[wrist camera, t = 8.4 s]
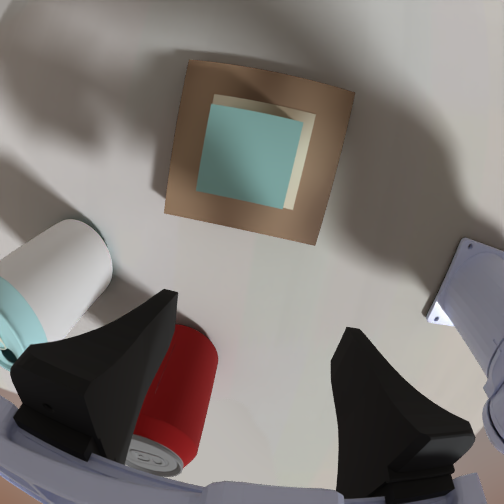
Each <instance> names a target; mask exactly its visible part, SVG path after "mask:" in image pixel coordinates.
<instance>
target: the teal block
mask: <svg viewBox="0 0 504 504" xmlns="http://www.w3.org/2000/svg"><path fill="white" fill-rule="evenodd" d="M303 123H304V122H300V121H296V120H292V119H288V118H283V117H279V116H274V115H270V114H265V113H260V112H255V111H250V110H245V109H239V108H234V107H228V106H222V105H215V104H211V108H210V113H209V118H208V123H207V129H206V134H205V139H204V145H203V150H202V156H201V162H200V168H199V174H198V180H197V186H196V191H199V192H204V193H209V194H214V195H219V196H224V197H228V198H233V199H238V200H243V201H247V202H252V203H256V204H261V205H265V206H270V207H274V208H279V209H283V206H284V202H285V198H286V194H287V189H288V185H289V181H290V177H291V173H292V169H293V165H294V161H295V156H296V152H297V148H298V144H299V140H300V135H301V131H302V127H303Z"/></svg>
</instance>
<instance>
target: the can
mask: <svg viewBox="0 0 504 504" xmlns="http://www.w3.org/2000/svg"><path fill="white" fill-rule="evenodd" d="M112 271H113V268H112V260H111V256H110V253H109V250H108V248H107V246H106V244H105V243H104V241H103V239H102V238H101V237H100V235H99V234H98V233H97V232H96V231H95V230H94V229H93V228H91V227H90V226H89V225H87V224H85V223H83V222H81V221H78V220H74V219H67V220H63V221H61V222H59V223H57V224H55V225H54V226H52V227H50V228H49V229H47V230H46V231H44V232H42V233H41V234H39V235H38V236H36V237H34V238H33V239H31V240H30V241H28V242H27V243H25V244H24V245H22V246H21V247H19V248H18V249H16V250H15V251H13V252H12V253H10V254H9V255H7V256H6V257H4V258H3V259H1V260H0V366H1V367H3V368H4V369H6V370H8V371H10V369H11V367H12V365H13V364H14V363H15V362H16V360H17V359H18V358H19V357H20V356H21V354H22V353H23V352H24V351H25V350H26V349H27V348H28V346H29V345H30V344H39V343H46V342H53V341H58V340H63V339H64V338H65V336H66V335H67V334H68V333H69V332H70V330H71V329H72V328H73V327H74V325H75V324H76V323H77V322H78V321H79V319H80V318H81V317H82V316H83V315H84V313H85V312H86V311H87V310H88V309H89V308H90V306H91V305H92V304H93V303H94V302H95V301H96V299H97V298H98V297H99V296H100V295H101V294H102V292H103V291H104V290H105V289H106V288H107V287H108V285H109V283H110V281H111V278H112Z"/></svg>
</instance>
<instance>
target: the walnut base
mask: <svg viewBox="0 0 504 504" xmlns="http://www.w3.org/2000/svg"><path fill="white" fill-rule="evenodd" d="M354 96H355V92H351V91H348V90H345V89H342V88H338V87H335V86H331V85H328V84H324V83H320V82H316V81H312V80H308V79H304V78H300V77H296V76H292V75H287V74H282V73H278V72H273V71H268V70H262V69H257V68H251V67H245V66H239V65H232V64H225V63H217V62H209V61H199V60H189V62H188V67H187V71H186V76H185V81H184V86H183V91H182V96H181V101H180V106H179V112H178V118H177V123H176V129H175V135H174V142H173V148H172V155H171V162H170V169H169V176H168V184H167V192H166V200H165V209H164V213H165V214H170V215H175V216H180V217H185V218H190V219H194V220H199V221H204V222H209V223H214V224H218V225H223V226H228V227H232V228H237V229H242V230H246V231H251V232H256V233H260V234H265V235H269V236H274V237H278V238H283V239H287V240H292V241H296V242H301V243H305V244H310V245H314V246H315V245H316V241H317V238H318V235H319V231H320V228H321V224H322V221H323V217H324V214H325V210H326V207H327V203H328V200H329V196H330V192H331V189H332V185H333V181H334V178H335V174H336V170H337V166H338V162H339V159H340V155H341V151H342V147H343V143H344V139H345V135H346V131H347V126H348V122H349V118H350V114H351V109H352V105H353V101H354ZM211 104H215V105H222V106H228V107H234V108H239V109H245V110H250V111H255V112H260V113H265V114H270V115H274V116H279V117H283V118H288V119H292V120H296V121H300V122H304V123H303V127H302V131H301V135H300V140H299V144H298V148H297V152H296V156H295V161H294V165H293V169H292V173H291V177H290V181H289V185H288V189H287V194H286V198H285V202H284V206H283V209H279V208H274V207H270V206H265V205H261V204H256V203H252V202H247V201H243V200H238V199H233V198H228V197H224V196H219V195H214V194H209V193H204V192H199V191H196V186H197V180H198V174H199V168H200V162H201V156H202V150H203V145H204V139H205V134H206V129H207V123H208V118H209V113H210V108H211Z"/></svg>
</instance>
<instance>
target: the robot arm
mask: <svg viewBox="0 0 504 504" xmlns="http://www.w3.org/2000/svg"><path fill="white" fill-rule="evenodd" d="M470 243H471V245H470V247H468V245H469V244H470ZM177 299H178V292H175V291H170V290H166V289H163V290H162V291H160V292H159V293H157V294H156V295H154V296H153V297H152V298H150V299H149V300H147V301H146V302H145V303H143V304H142V305H140V306H139V307H137V308H135V309H134V310H132V311H131V312H129V313H128V314H126V315H124V316H122V317H121V318H119V319H117V320H115V321H113V322H111V323H109V324H107V325H105V326H103V327H100V328H98V329H96V330H93V331H90V332H87V333H84V334H81V335H78V336H75V337H71V338H67V339H63V340H58V341H53V342H46V343H39V344H30V345H29V346H28V348H27V349H26V350H25V351H24V352H23V353H22V354H21V356H20V357H19V358H18V359H17V360H16V362H15V363H14V364H13V365H12V367H11V369H10V375H11V379H12V382H13V384H14V386H15V388H16V391H17V393H18V395H19V397H20V399H21V401H22V403H23V404H22V405H21V406H20V408H19V409H18V408H17V407H16V406H15V405H14V404H13V403H11V402H10V401H8V400H7V399H5V398H4V397H2V396H0V476H2V477H3V478H5V479H6V480H7V481H9V482H10V483H12V484H13V485H15V486H16V487H18V488H19V489H21V490H22V491H24V492H25V493H27V494H28V495H30V496H32V497H33V498H35V499H37V500H38V501H40V502H42V503H43V504H487V502H486V499H485V496H484V492H483V489H482V486H481V483H480V480H479V477H478V474H477V473H471V474H467V475H463V476H460V477H457V478H455V479H453V480H452V477H451V474H452V473H454V471H455V469H454V466H453V464H454V463H455V462H456V461H457V460H459V458H461V457H462V456H463V455H464V454H465V453H466V452H467V451H468V450H469V449H470V448H471V447H472V445H473V443H474V442H475V435H474V433H473V430H472V428H471V425H470V423H469V422H468V421H466V420H464V419H462V418H460V417H458V416H456V415H454V414H452V413H450V412H448V411H446V410H445V409H443V408H441V407H440V406H438V405H436V404H435V403H433V402H432V401H431V400H429V399H428V398H426V397H425V396H424V395H422V394H421V393H420V392H419V391H417V390H416V389H415V388H414V387H413V386H411V385H410V384H409V383H408V382H407V381H406V380H405V379H404V378H403V377H402V376H401V375H400V374H399V373H398V372H397V371H396V370H395V369H394V368H393V367H392V366H391V365H390V364H389V363H388V361H387V360H386V359H385V358H384V357H383V356H382V354H381V353H380V352H379V351H378V350H377V349H376V347H375V346H374V345H373V344H372V342H371V341H370V340H369V339H368V338H367V337H366V335H365V334H364V333H363V332H362V331H361V330H360V329H357V328H351V327H346V330H345V332H344V334H343V336H342V338H341V341H340V343H339V345H338V347H337V349H336V351H335V353H334V355H333V357H332V359H331V384H332V390H333V397H334V403H335V409H336V415H337V422H338V437H339V454H338V475H337V486H336V491H335V490H330V489H322V488H296V487H282V486H271V485H262V484H253V483H246V482H233V481H222V482H215V483H211V484H209V485H208V486H206V487H202V486H197V485H193V484H188V483H184V482H180V481H175V480H172V479H168V478H164V477H161V476H157V475H154V474H150V473H147V472H144V471H141V470H138V469H135V468H132V467H129V466H126V465H125V461H126V457H127V454H128V450H129V446H130V443H131V439H132V436H133V432H134V429H135V426H136V423H137V420H138V416H139V413H140V410H141V408H142V405H143V402H144V399H145V396H146V394H147V391H148V389H149V387H150V385H151V383H152V381H153V379H154V377H155V375H156V373H157V371H158V369H159V367H160V365H161V363H162V361H163V359H164V357H165V355H166V353H167V351H168V349H169V346H170V343H171V340H172V337H173V334H174V331H175V322H176V310H177ZM435 317H437V318H435ZM434 318H435V319H434ZM426 319H427V321H428V322H429V323H435V324H442V325H448V326H455V328H456V329H457V330H458V332H459V333H460V335H461V336H462V338H463V340H464V341H465V343H466V344H467V346H468V347H469V349H470V350H471V352H472V354H473V355H474V357H475V358H476V360H477V362H478V363H479V365H480V366H481V368H482V370H483V371H484V373H485V375H486V376H487V378H488V380H487V382H486V384H485V385H484V387H483V389H484V391H485V393H486V394H487V396H488V398H489V399H488V400H487V401H486V403H485V405H484V407H483V412H482V417H483V424H484V428H485V431H486V434H487V436H488V438H489V440H490V442H491V443H492V444H493V446H494V447H495V448H496V449H497V450H498V451H499V452H501V453H502V454H504V251H502V250H499V249H496V248H494V247H491V246H488V245H485V244H483V243H480V242H477V241H474V240H472V239H469V238H463V239H462V240H461V241H460V243H459V246H458V248H457V251H456V253H455V256H454V258H453V261H452V263H451V265H450V268H449V270H448V272H447V274H446V277H445V279H444V281H443V283H442V285H441V287H440V290H439V292H438V294H437V296H436V298H435V300H434V302H433V304H432V306H431V308H430V310H429V312H428V314H427V316H426Z"/></svg>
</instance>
